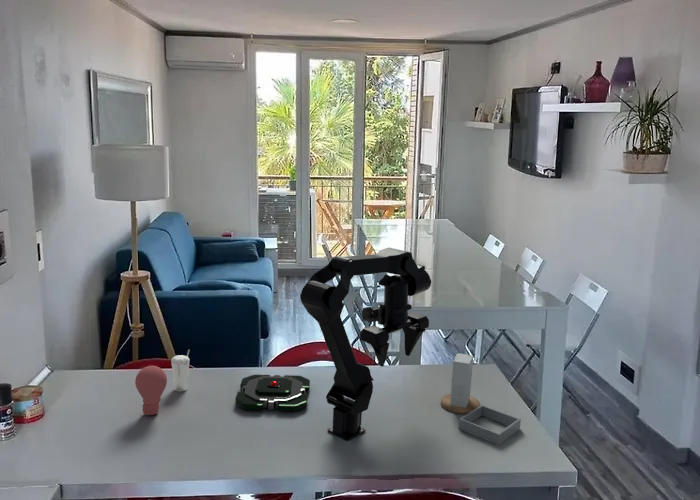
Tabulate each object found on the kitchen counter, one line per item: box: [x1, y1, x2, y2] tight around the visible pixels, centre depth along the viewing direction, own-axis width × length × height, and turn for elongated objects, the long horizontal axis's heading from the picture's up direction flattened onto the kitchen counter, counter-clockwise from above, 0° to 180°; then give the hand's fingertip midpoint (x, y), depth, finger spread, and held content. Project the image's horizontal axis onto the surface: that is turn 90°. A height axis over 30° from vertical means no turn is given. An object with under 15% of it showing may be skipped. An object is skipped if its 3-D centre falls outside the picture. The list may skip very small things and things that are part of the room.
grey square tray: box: [457, 404, 522, 446], centre depth 149 cm, size 10×10×2 cm
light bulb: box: [134, 365, 168, 416], centre depth 149 cm, size 7×7×12 cm
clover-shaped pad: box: [234, 374, 311, 412], centre depth 162 cm, size 18×18×5 cm
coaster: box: [440, 393, 481, 415], centre depth 161 cm, size 10×10×1 cm
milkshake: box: [170, 349, 191, 393], centre depth 163 cm, size 4×5×10 cm
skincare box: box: [450, 353, 474, 408], centre depth 160 cm, size 6×4×12 cm
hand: (394, 360), depth 155 cm, fingers open, 9 cm apart
